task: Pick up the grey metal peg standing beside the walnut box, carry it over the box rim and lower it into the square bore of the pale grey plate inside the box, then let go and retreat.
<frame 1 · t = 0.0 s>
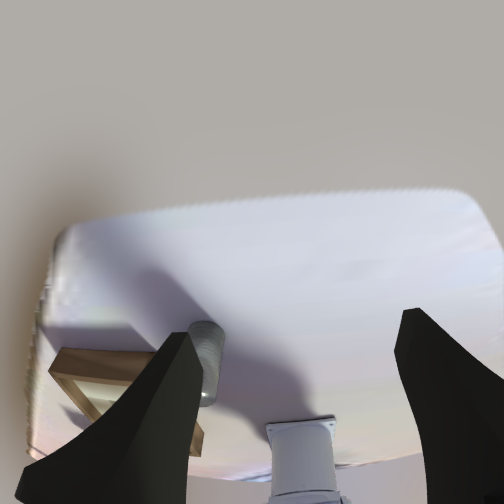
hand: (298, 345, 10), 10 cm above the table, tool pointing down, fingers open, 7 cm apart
peg box: (135, 397, 30), on the table
peg: (206, 334, 24), on the table
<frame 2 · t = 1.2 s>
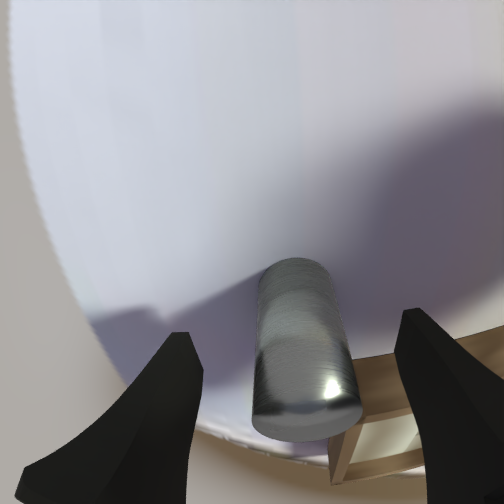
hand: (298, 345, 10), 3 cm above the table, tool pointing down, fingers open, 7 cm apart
peg box: (439, 394, 17), on the table
peg: (295, 289, 12), on the table
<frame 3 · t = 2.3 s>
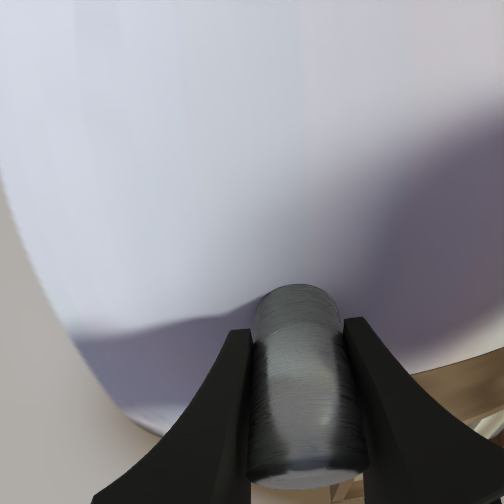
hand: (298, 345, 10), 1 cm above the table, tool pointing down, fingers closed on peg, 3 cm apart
peg box: (444, 412, 15), on the table
peg: (296, 317, 11), on the table, touching gripper
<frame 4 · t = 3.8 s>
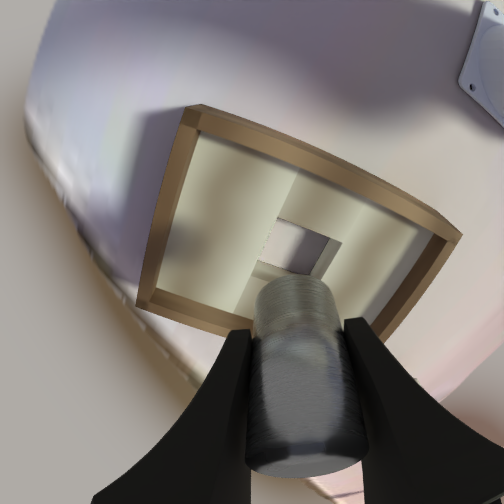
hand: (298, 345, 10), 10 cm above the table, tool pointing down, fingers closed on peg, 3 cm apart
peg box: (293, 243, 19), on the table
peg: (294, 308, 11), point 8 cm above the table, touching gripper
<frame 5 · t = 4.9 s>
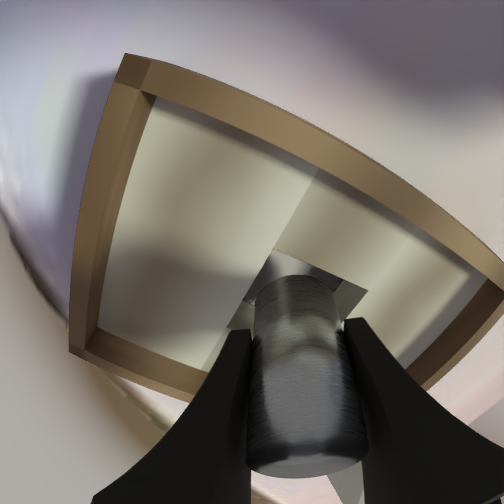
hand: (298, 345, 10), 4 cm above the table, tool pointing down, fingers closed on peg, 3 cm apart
die: (376, 433, 21), on the table
peg box: (292, 280, 13), on the table
peg: (294, 308, 11), point 2 cm above the table, touching gripper
when the fingers open (3 cm above the table, at t = 5.4 s): peg stays where it is, resting in peg box.
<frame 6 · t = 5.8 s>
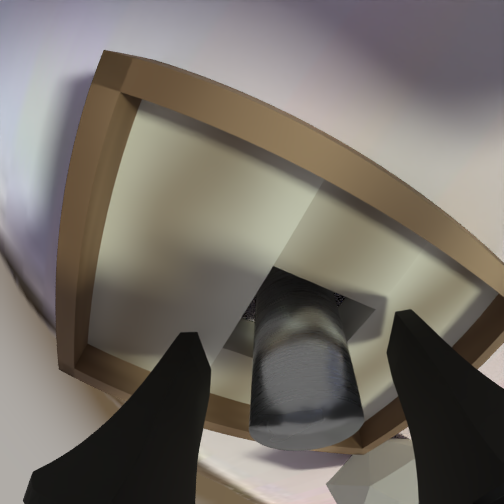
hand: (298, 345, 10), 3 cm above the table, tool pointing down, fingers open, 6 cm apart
die: (377, 443, 20), on the table
peg box: (293, 296, 12), on the table
peg: (293, 292, 12), resting in peg box
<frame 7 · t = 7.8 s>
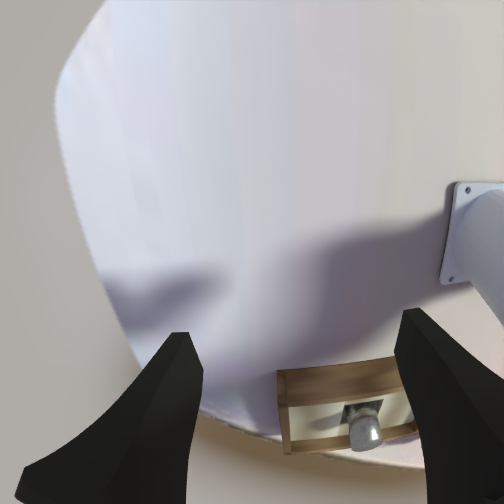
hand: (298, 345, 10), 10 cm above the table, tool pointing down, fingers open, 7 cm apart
peg box: (358, 396, 27), on the table
peg: (357, 395, 27), resting in peg box
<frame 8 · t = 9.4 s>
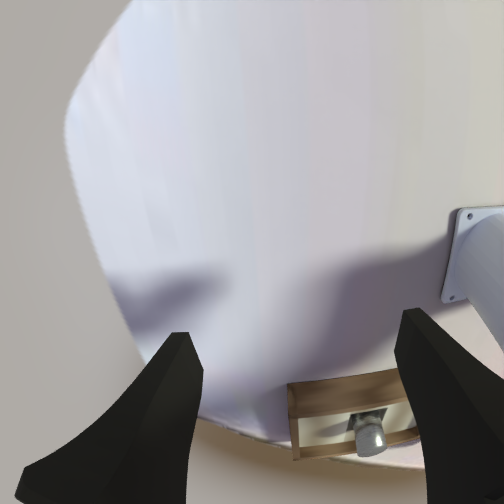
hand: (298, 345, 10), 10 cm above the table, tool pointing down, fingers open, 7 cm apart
peg box: (363, 405, 28), on the table
peg: (362, 404, 28), resting in peg box
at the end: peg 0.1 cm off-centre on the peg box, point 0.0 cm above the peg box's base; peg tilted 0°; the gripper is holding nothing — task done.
